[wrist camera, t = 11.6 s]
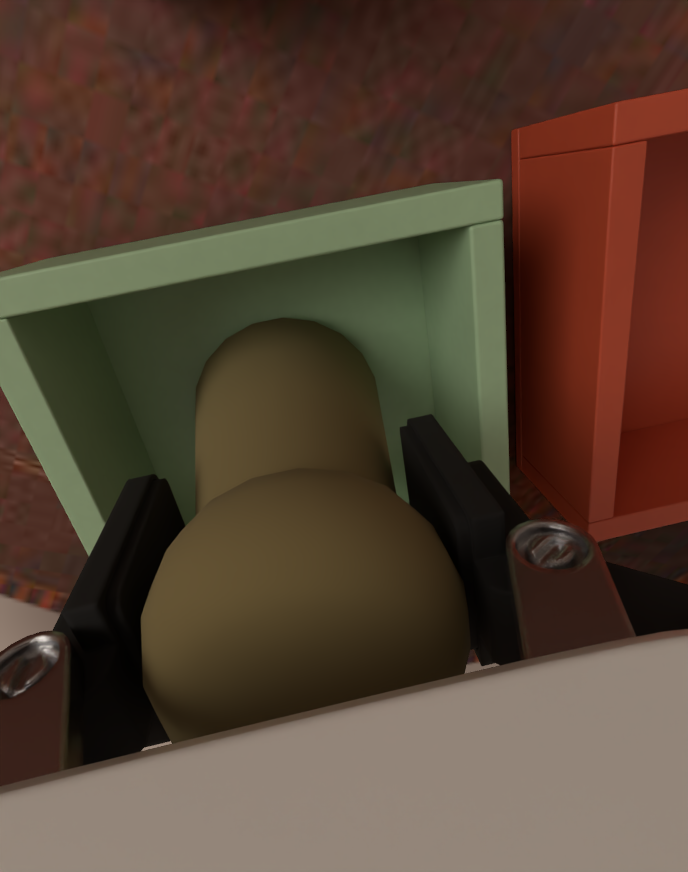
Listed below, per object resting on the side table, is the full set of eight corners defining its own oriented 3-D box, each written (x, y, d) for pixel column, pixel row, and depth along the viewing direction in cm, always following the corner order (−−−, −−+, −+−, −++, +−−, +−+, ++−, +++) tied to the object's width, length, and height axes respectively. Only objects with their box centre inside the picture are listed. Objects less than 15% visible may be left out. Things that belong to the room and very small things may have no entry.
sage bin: (46, 258, 14) (-53, 286, 10) (434, 183, 15) (504, 178, 11) (175, 563, 20) (148, 671, 15) (459, 499, 20) (513, 586, 16)
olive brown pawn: (403, 346, 16) (615, 584, 6) (348, 501, 18) (438, 852, 9) (214, 293, 15) (103, 495, 5) (179, 469, 17) (56, 850, 7)
